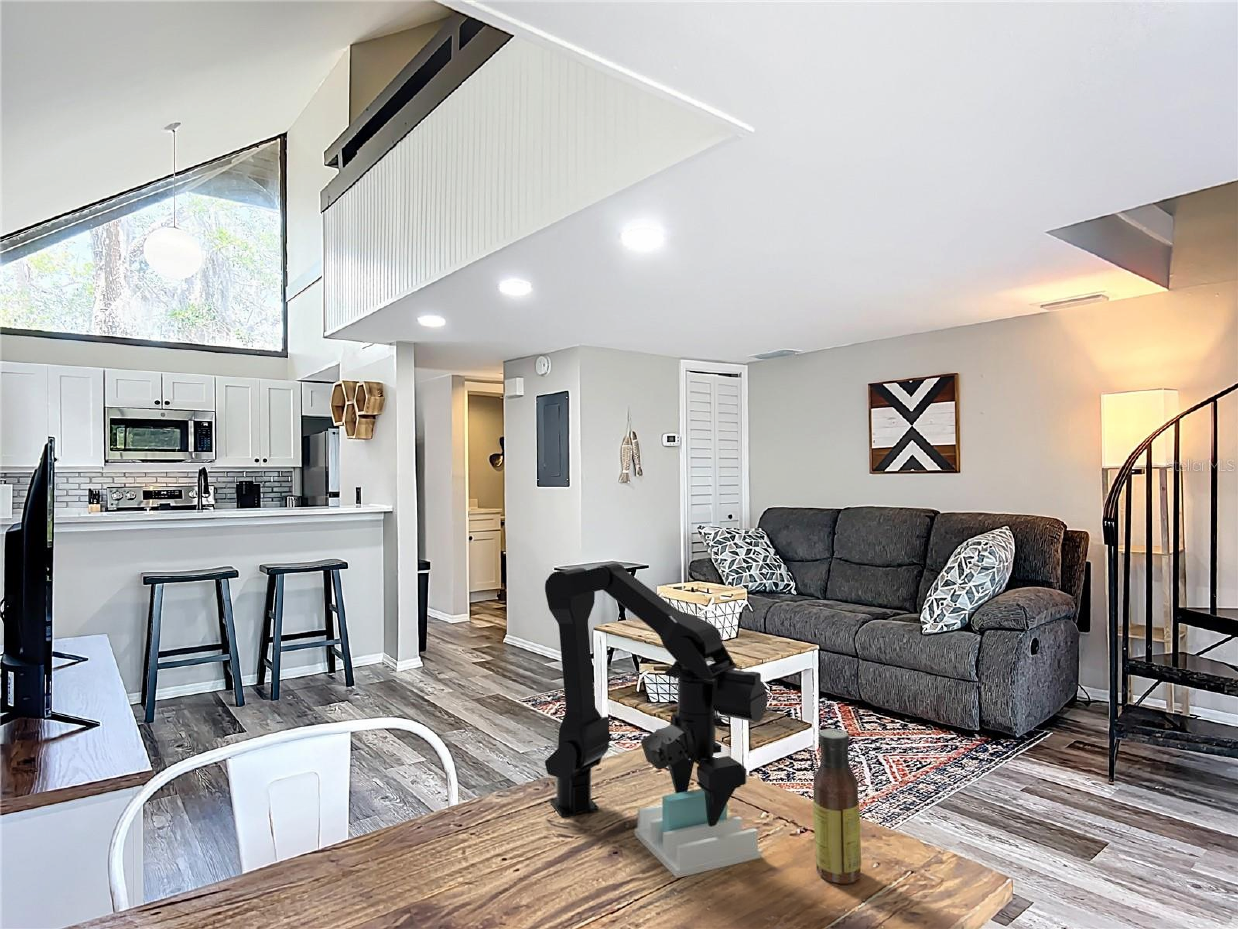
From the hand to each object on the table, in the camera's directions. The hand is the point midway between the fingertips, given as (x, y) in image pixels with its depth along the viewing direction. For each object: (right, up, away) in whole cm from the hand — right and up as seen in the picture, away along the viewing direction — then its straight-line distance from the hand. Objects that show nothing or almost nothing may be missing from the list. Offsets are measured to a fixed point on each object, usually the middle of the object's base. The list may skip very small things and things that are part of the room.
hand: (696, 812), depth 116 cm
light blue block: (0, -4, 0) cm, 4 cm away
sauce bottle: (+19, -5, -8) cm, 21 cm away
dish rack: (0, -5, 0) cm, 5 cm away
